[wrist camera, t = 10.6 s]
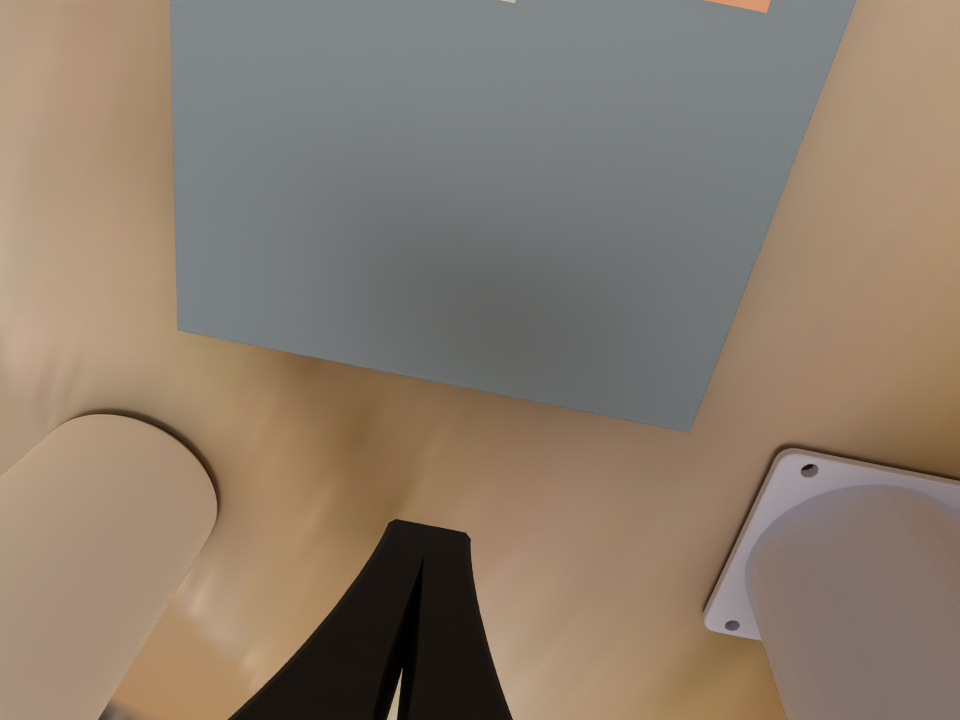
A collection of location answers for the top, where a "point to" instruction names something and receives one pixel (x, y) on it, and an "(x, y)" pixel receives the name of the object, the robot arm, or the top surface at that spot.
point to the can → (92, 559)
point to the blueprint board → (490, 184)
